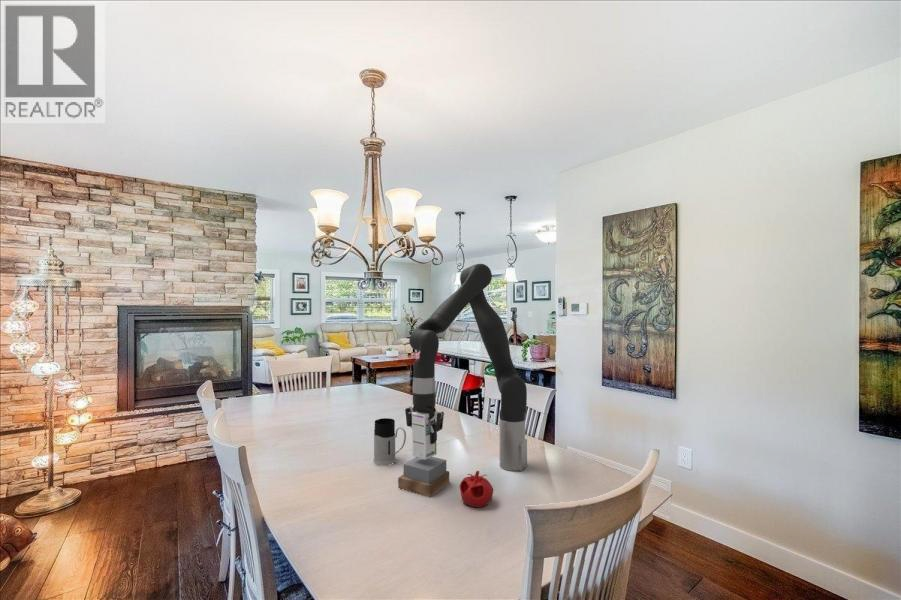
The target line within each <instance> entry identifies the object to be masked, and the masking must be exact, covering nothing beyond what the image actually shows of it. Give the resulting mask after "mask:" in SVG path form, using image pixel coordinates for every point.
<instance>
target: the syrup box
mask: <svg viewBox="0 0 901 600" xmlns="http://www.w3.org/2000/svg"><path fill="white" fill-rule="evenodd" d="M435 417H436V416H435V415H434V417H433V418H432V419H431V420H430V419H429V420H430V422H433V421H434V419H435V421H436V418H435ZM428 418H429V414H428V413H426V414H424V412H413V413H412V428H411V435H412V439H411V440H412V457H414V458H416V457H417V458H420V459H424V460H426V459H428V458H430V457H435V456H437V441H436V442H435V443H434V444H431V443H430V433H431V431H430V428H429V426H428Z"/></svg>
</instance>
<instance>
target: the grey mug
mask: <svg viewBox="0 0 901 600" xmlns="http://www.w3.org/2000/svg"><path fill="white" fill-rule="evenodd" d="M395 422H396V420H395V419H394V418H386V417H385V418H378V419H376V420H374V429H373V443H374V444H373V449H374V451H373V460H372V463H373V462H374V463H375V464H378V465H377V466H380V465H386V466H390V465H389V464H391V465H393V464H395V463H396V462H397V458H396V455H397V454H398V453H399V452H400V451H401V450H403V448H404V446H405V443H406V439H407V433H406V429H405V428H403V427H402V426H400V427H397V429H396V427H395V426H396V425H395V424H396V423H395ZM395 429H396V430H395ZM399 429H400V430H402V431H403V437H404V438H403V443H402V445H401V447H400V448H399V449H398V450H397V451H396V438H397V436H398V431H399ZM374 463H373V464H374ZM392 463H393V464H392ZM375 464H374V465H375Z"/></svg>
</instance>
